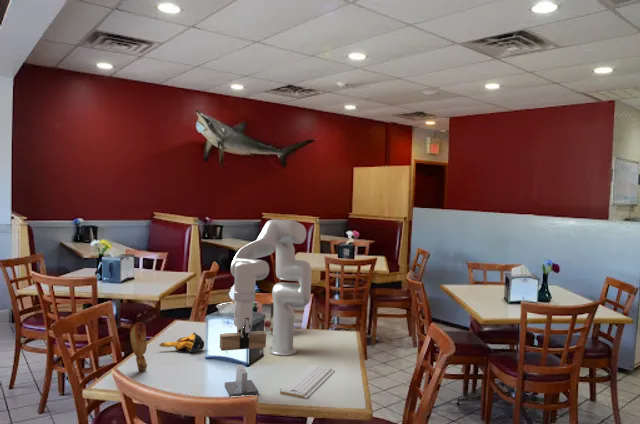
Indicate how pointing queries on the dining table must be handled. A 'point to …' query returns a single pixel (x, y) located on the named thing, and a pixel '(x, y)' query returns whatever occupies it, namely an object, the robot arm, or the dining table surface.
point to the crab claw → (139, 344)
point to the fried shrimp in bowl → (186, 344)
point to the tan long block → (233, 340)
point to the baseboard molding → (307, 382)
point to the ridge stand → (241, 384)
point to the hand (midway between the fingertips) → (242, 345)
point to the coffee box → (272, 319)
